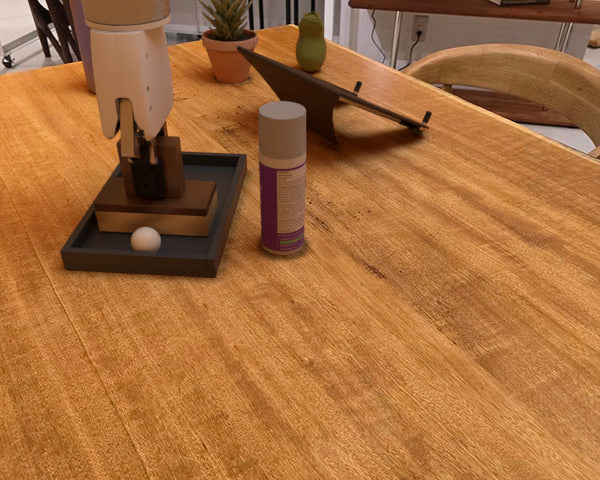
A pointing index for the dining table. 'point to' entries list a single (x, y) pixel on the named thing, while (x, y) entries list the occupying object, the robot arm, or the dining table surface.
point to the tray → (174, 248)
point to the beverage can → (83, 41)
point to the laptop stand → (319, 96)
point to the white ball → (146, 240)
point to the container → (282, 176)
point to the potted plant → (228, 40)
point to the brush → (153, 210)
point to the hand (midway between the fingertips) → (155, 187)
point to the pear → (311, 42)
